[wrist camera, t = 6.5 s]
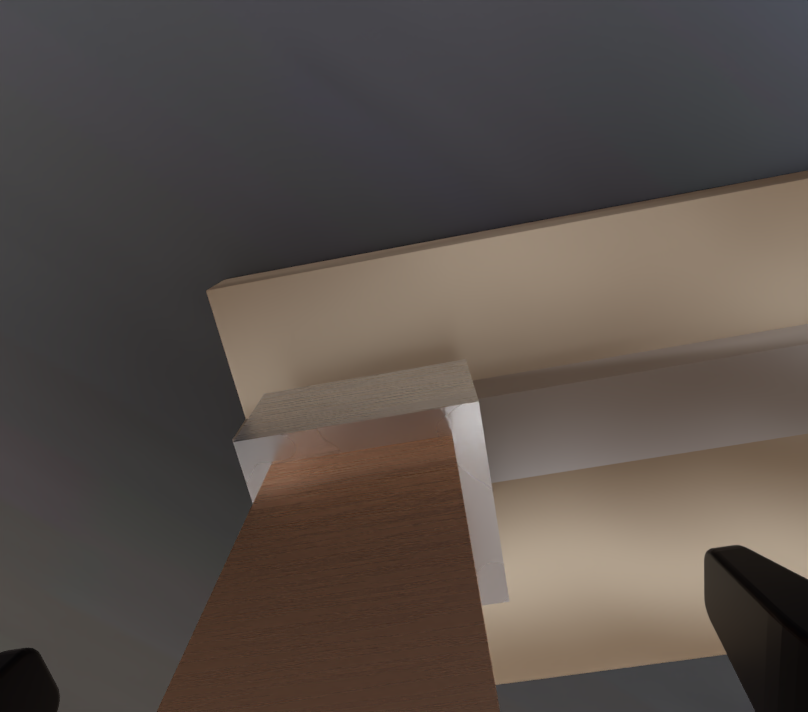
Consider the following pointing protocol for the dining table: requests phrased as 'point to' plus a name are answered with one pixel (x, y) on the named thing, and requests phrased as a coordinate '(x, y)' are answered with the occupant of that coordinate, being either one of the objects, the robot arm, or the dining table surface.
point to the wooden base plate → (587, 399)
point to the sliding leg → (356, 556)
